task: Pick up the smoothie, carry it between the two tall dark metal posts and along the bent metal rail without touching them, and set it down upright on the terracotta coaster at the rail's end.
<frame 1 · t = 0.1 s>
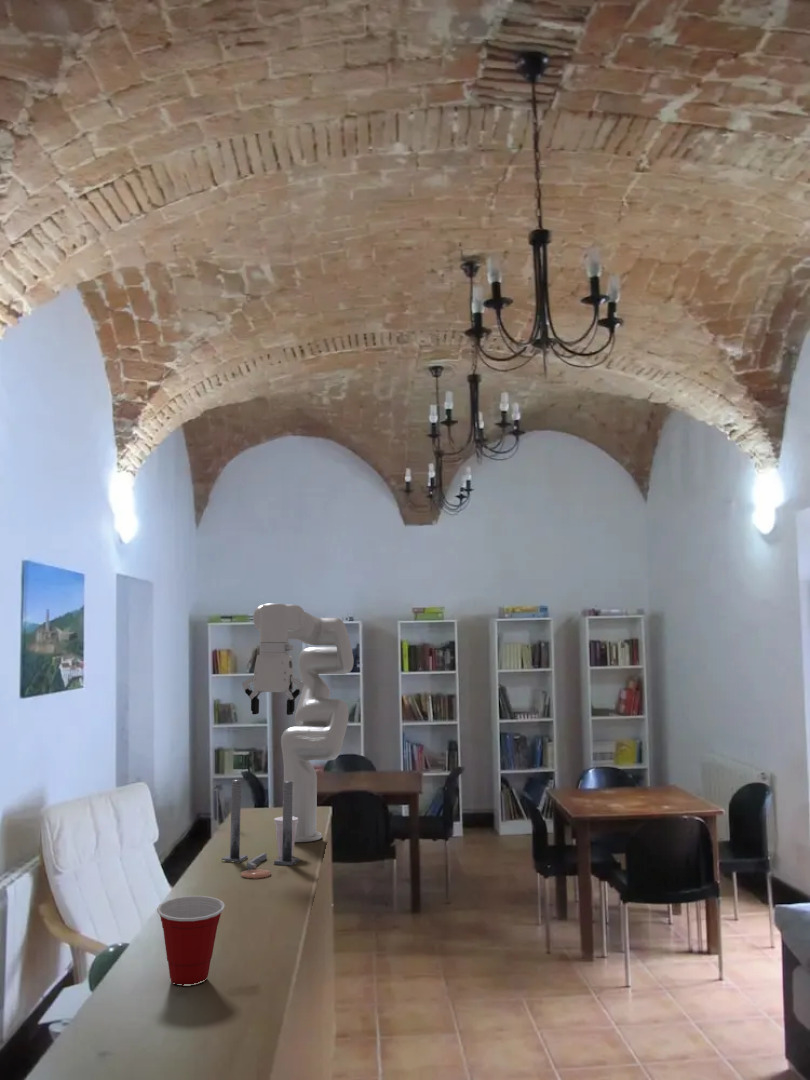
hand: (272, 714, 246), 37 cm above the table, tool pointing down, fingers open, 9 cm apart
post 2: (286, 862, 234), on the table
post 1: (234, 860, 237), on the table
coaster: (255, 875, 221), on the table
smoothie: (285, 857, 241), on the table
bent rail: (299, 838, 265), on the table
plastic cup: (189, 982, 150), on the table
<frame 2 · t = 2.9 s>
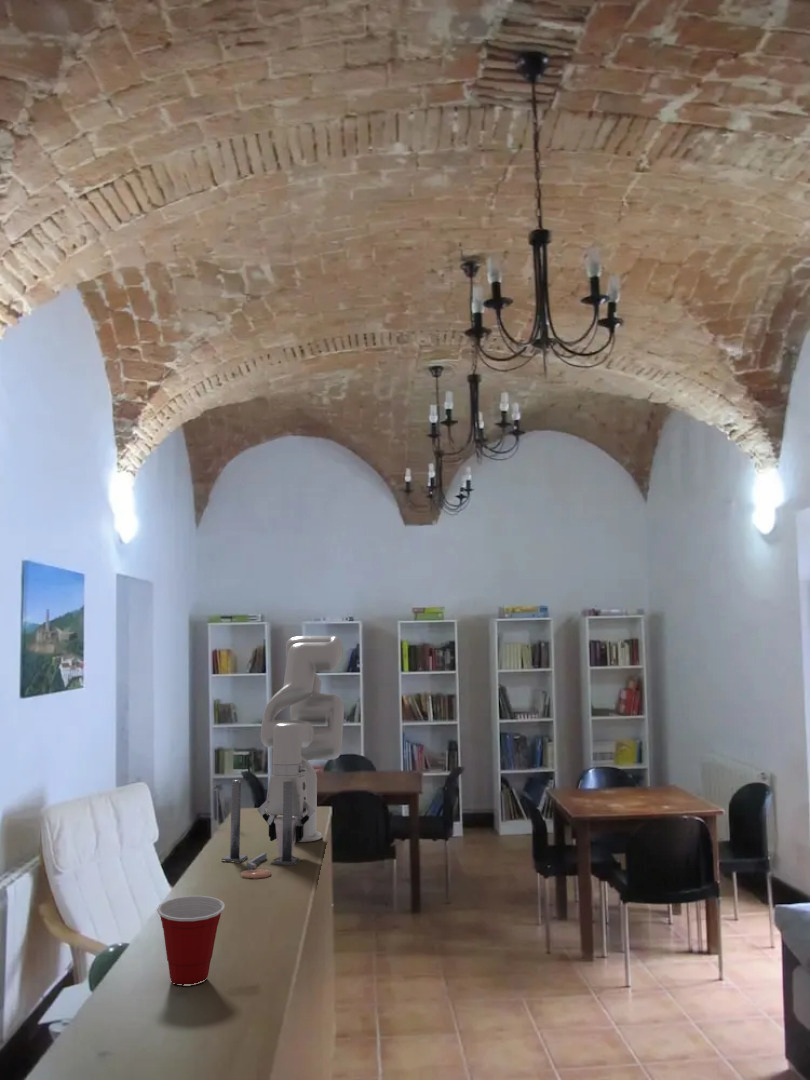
hand: (285, 839, 242), 4 cm above the table, tool pointing down, fingers closed on smoothie, 6 cm apart
smoothie: (285, 857, 241), on the table, touching gripper
everything else where it was.
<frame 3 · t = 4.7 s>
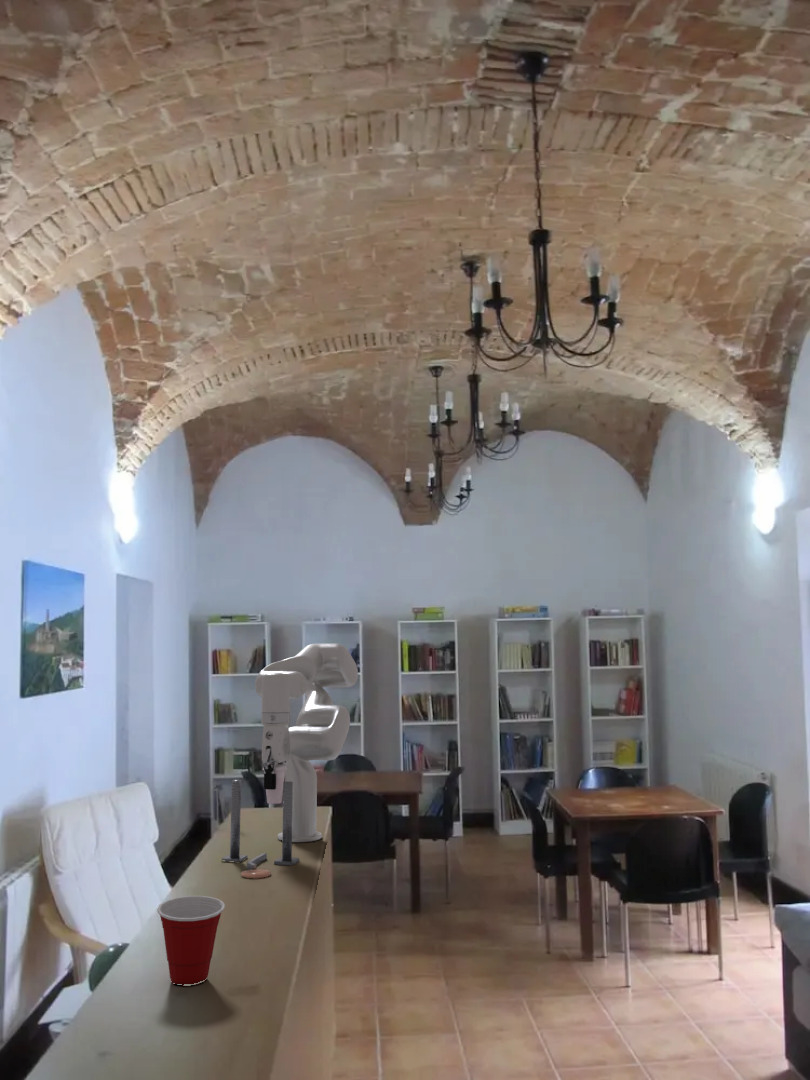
hand: (274, 786, 246), 17 cm above the table, tool pointing down, fingers closed on smoothie, 6 cm apart
smoothie: (274, 803, 246), point 13 cm above the table, touching gripper
everything else where it was.
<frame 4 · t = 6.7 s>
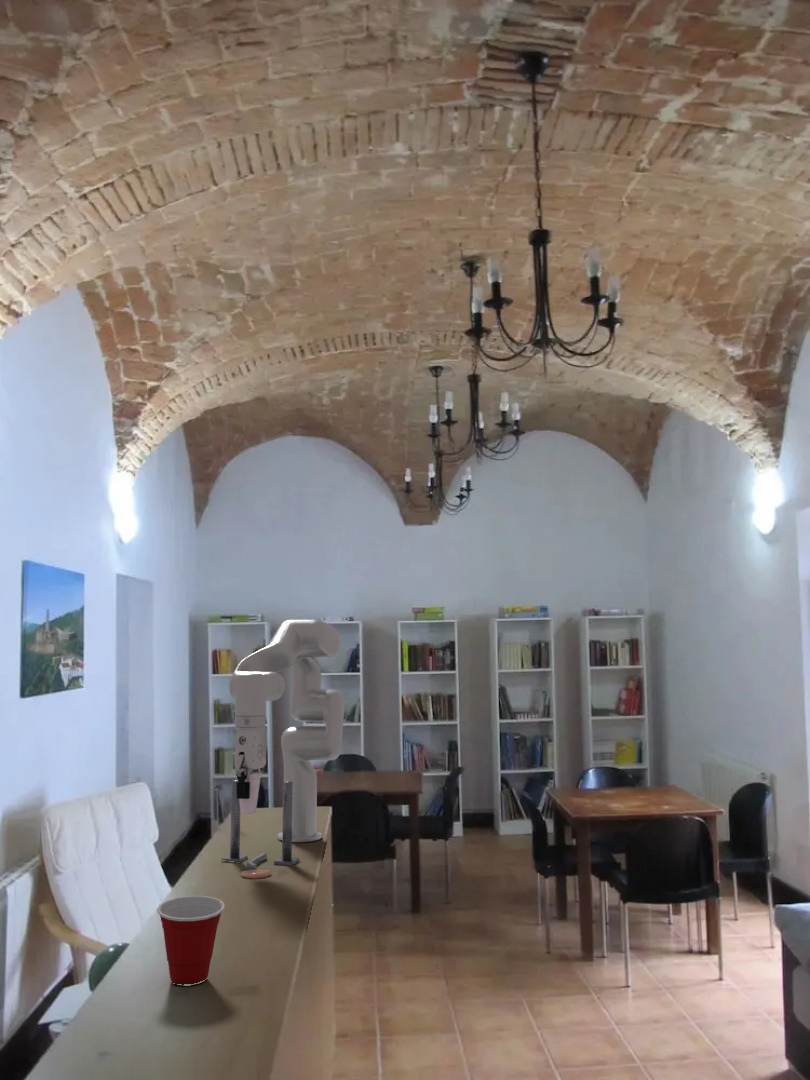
hand: (248, 795, 229), 18 cm above the table, tool pointing down, fingers closed on smoothie, 6 cm apart
smoothie: (248, 813, 228), point 13 cm above the table, touching gripper
everything else where it was.
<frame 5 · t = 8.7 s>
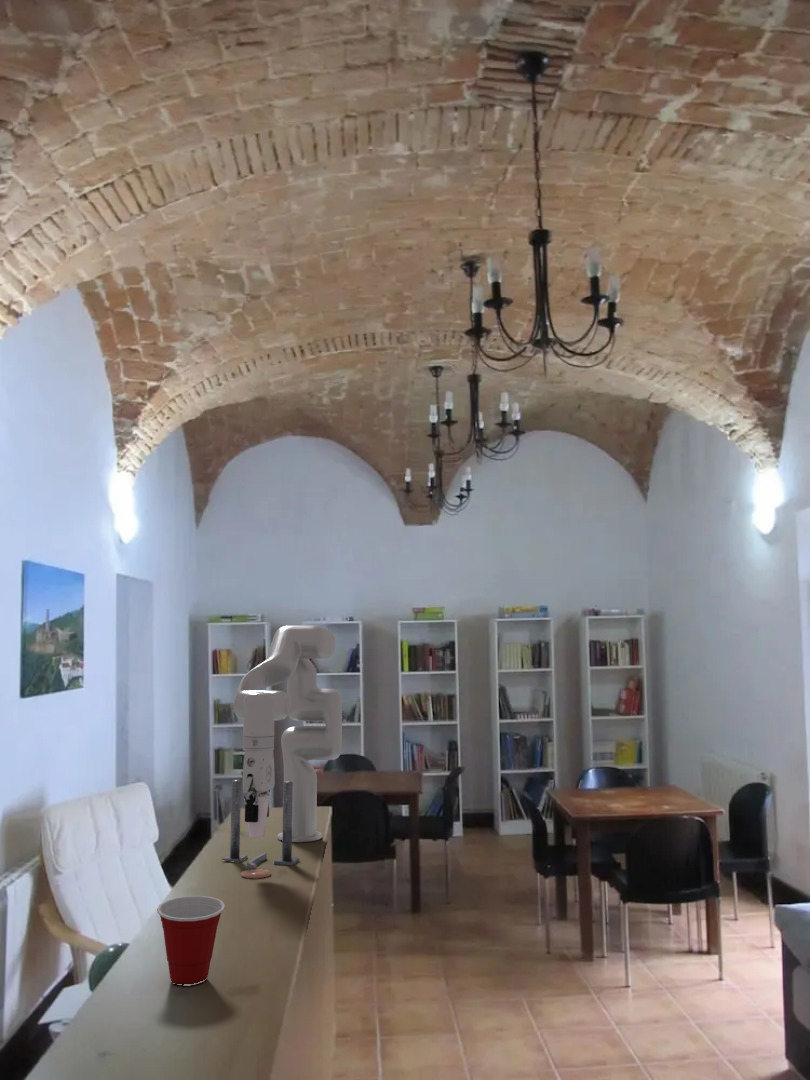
hand: (256, 818, 223), 13 cm above the table, tool pointing down, fingers closed on smoothie, 6 cm apart
smoothie: (256, 837, 222), point 9 cm above the table, touching gripper
everything else where it was.
when the fingers open (6 cm above the table, at t = 10.4 s): smoothie stays where it is, resting on coaster.
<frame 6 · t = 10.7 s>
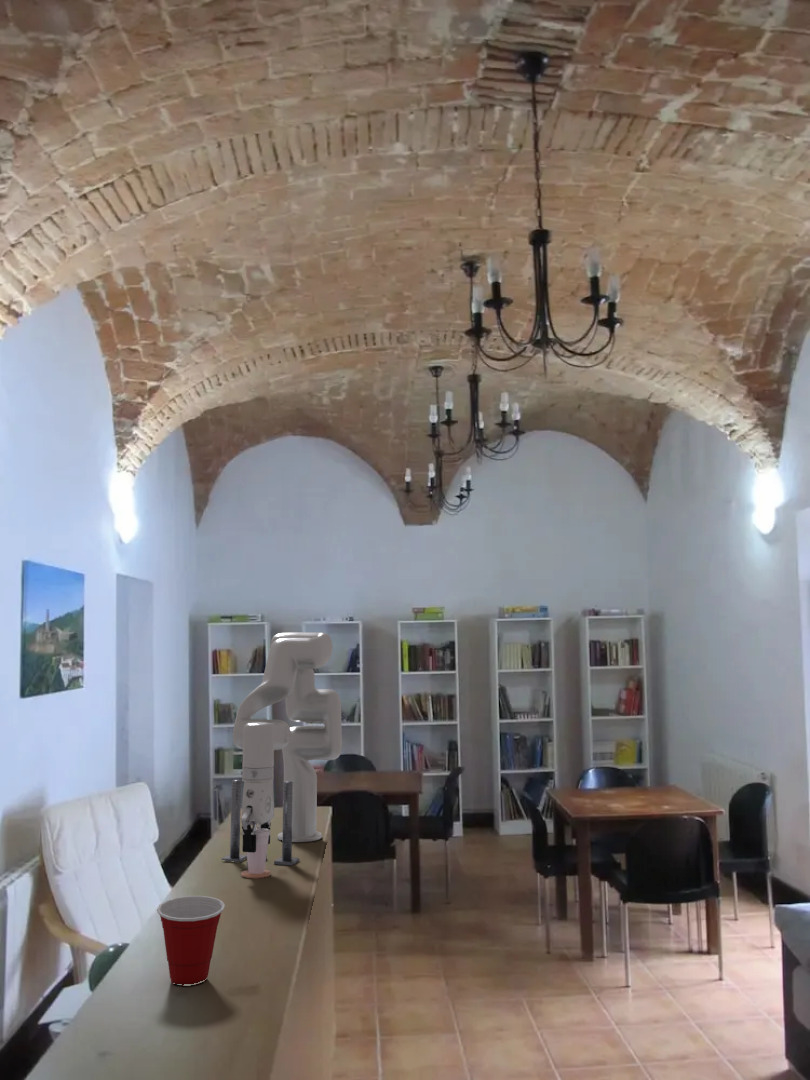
hand: (256, 847, 222), 6 cm above the table, tool pointing down, fingers open, 8 cm apart
smoothie: (256, 873, 221), resting on coaster
everything else where it was.
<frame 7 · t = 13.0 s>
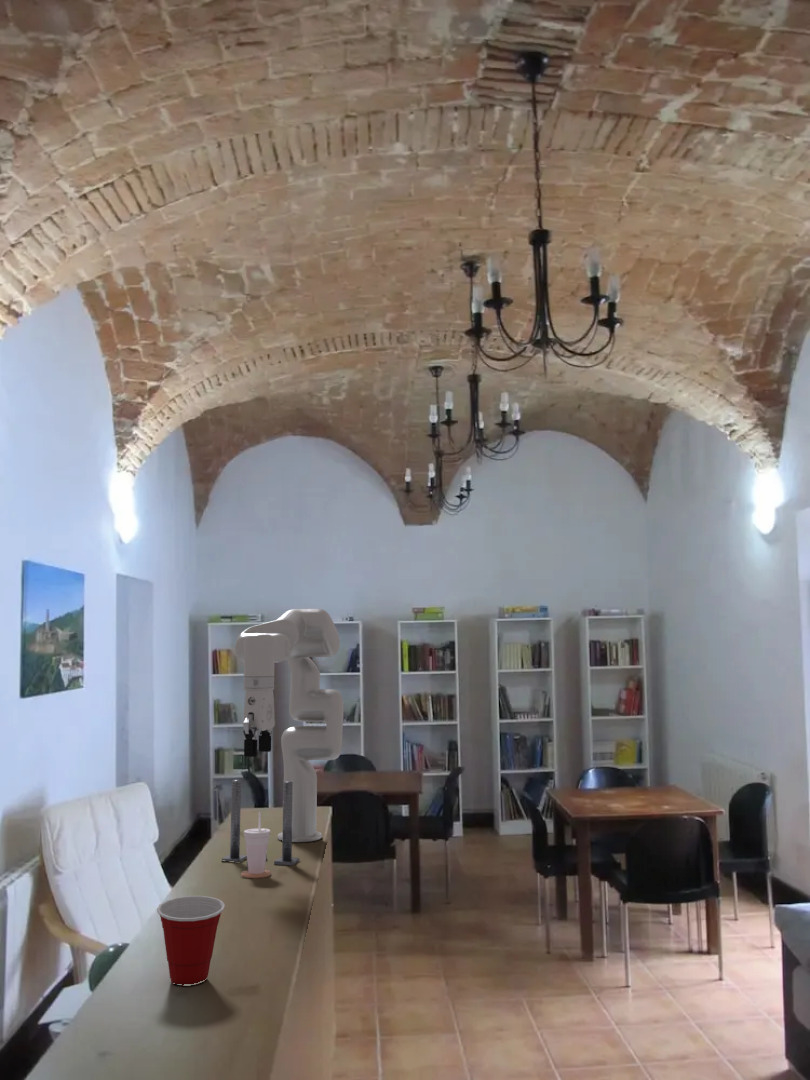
hand: (257, 753, 228), 28 cm above the table, tool pointing down, fingers open, 9 cm apart
nothing on the table moved.
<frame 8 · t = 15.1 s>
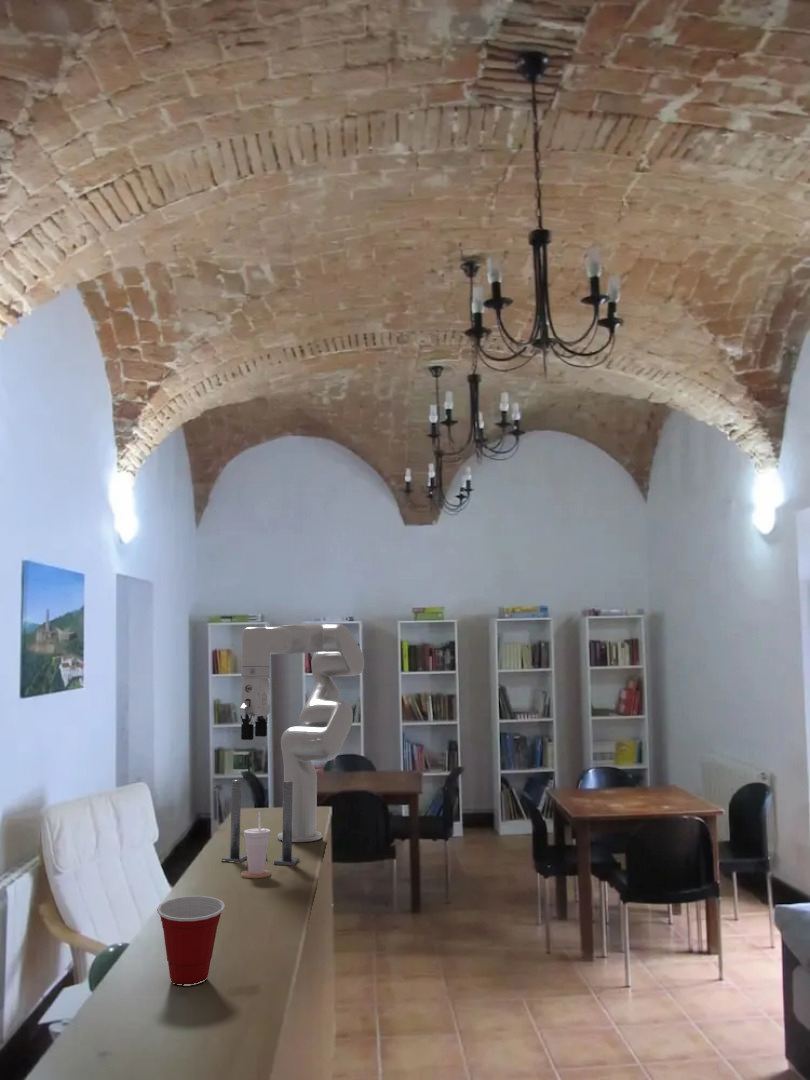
hand: (254, 738, 246), 30 cm above the table, tool pointing down, fingers open, 9 cm apart
nothing on the table moved.
at the end: smoothie 0.4 cm from the coaster (horizontally); smoothie tilted 0°; the gripper is holding nothing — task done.
